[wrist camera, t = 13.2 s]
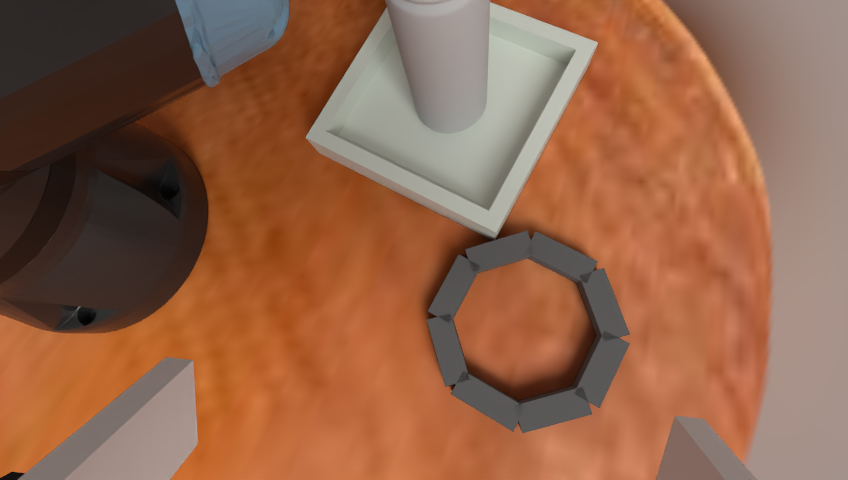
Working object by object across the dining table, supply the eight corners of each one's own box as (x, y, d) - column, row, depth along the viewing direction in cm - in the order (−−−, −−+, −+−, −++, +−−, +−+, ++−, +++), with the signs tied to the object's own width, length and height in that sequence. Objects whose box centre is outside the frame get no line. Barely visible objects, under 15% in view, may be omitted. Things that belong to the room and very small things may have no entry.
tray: (319, 153, 30) (305, 137, 28) (414, -1, 32) (408, -29, 30) (494, 241, 27) (496, 232, 25) (588, 66, 29) (598, 42, 27)
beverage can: (417, 75, 30) (378, -89, 18) (486, 72, 29) (491, -100, 18) (415, 138, 29) (372, 7, 17) (486, 136, 28) (492, -1, 17)
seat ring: (402, 361, 27) (399, 363, 25) (484, 211, 28) (484, 206, 27) (567, 460, 24) (571, 466, 23) (647, 291, 26) (655, 289, 25)
